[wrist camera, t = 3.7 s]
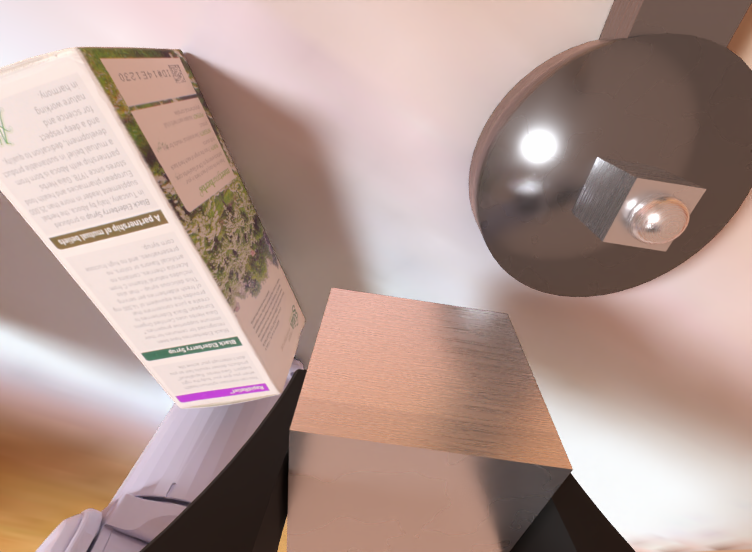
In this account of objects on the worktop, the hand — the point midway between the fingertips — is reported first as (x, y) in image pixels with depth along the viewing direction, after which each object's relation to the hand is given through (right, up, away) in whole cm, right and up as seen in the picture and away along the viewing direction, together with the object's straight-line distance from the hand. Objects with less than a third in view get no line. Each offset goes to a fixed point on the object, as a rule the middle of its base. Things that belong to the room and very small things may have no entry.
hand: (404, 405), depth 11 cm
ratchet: (+9, +13, +2) cm, 16 cm away
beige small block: (0, +1, +1) cm, 2 cm away
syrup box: (-11, +11, +1) cm, 16 cm away
